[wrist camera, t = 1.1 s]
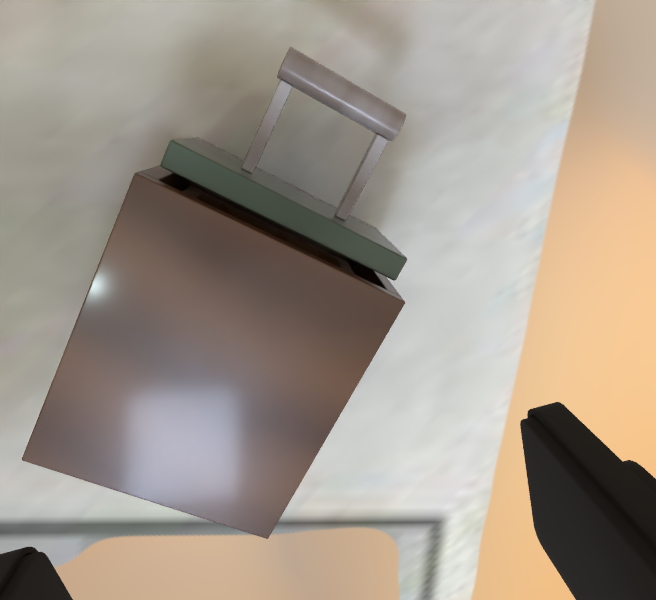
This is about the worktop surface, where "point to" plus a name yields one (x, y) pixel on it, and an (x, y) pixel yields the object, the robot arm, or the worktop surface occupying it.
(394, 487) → the worktop surface
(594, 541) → the robot arm
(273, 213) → the drawer
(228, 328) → the cabinet
